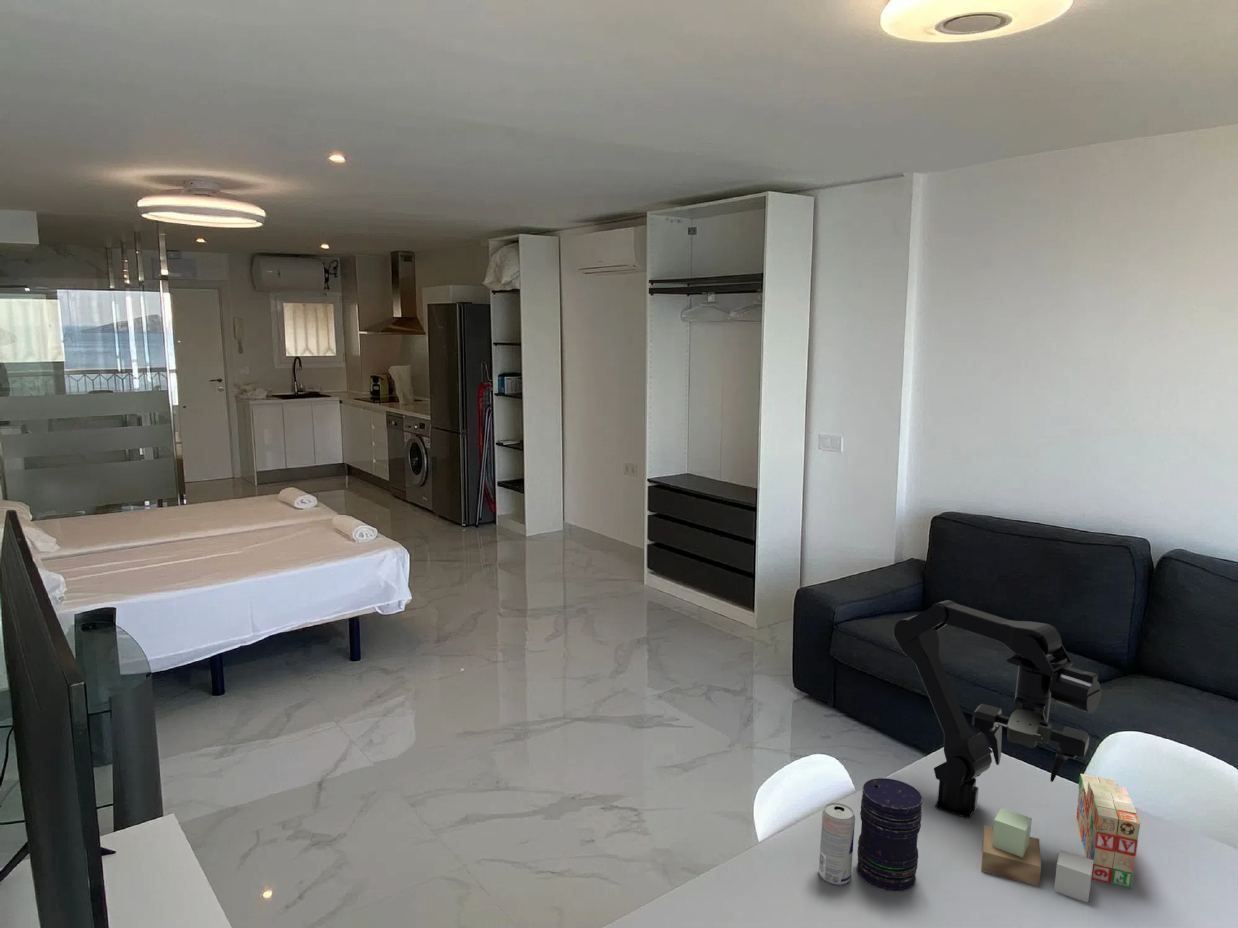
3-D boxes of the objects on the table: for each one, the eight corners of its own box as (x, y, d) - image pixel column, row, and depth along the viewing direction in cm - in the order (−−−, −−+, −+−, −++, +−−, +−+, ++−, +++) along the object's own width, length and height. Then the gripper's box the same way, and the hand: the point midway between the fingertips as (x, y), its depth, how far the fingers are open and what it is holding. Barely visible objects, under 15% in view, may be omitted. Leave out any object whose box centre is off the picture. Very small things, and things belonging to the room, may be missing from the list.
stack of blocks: (1075, 816, 160) (1081, 757, 158) (1111, 824, 158) (1118, 764, 156) (1090, 879, 140) (1098, 813, 139) (1132, 889, 138) (1140, 822, 136)
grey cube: (1053, 891, 137) (1056, 863, 136) (1057, 876, 141) (1060, 849, 141) (1087, 902, 134) (1091, 875, 134) (1090, 887, 138) (1093, 860, 138)
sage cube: (991, 845, 143) (994, 819, 143) (998, 833, 147) (1001, 807, 146) (1022, 857, 140) (1025, 830, 139) (1029, 844, 144) (1031, 817, 143)
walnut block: (981, 872, 142) (983, 851, 142) (982, 845, 150) (984, 825, 150) (1038, 888, 138) (1041, 866, 138) (1036, 859, 146) (1039, 838, 146)
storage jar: (925, 873, 141) (932, 793, 139) (901, 900, 134) (908, 815, 132) (871, 848, 147) (877, 771, 145) (845, 873, 140) (851, 792, 138)
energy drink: (851, 870, 141) (856, 805, 139) (849, 888, 136) (854, 822, 134) (820, 863, 143) (824, 799, 141) (817, 881, 138) (821, 815, 136)
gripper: (967, 692, 148) (960, 772, 150) (1084, 722, 137) (1074, 809, 139) (983, 673, 157) (975, 749, 159) (1094, 701, 145) (1084, 782, 148)
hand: (1024, 772), depth 151 cm, fingers open, 9 cm apart
